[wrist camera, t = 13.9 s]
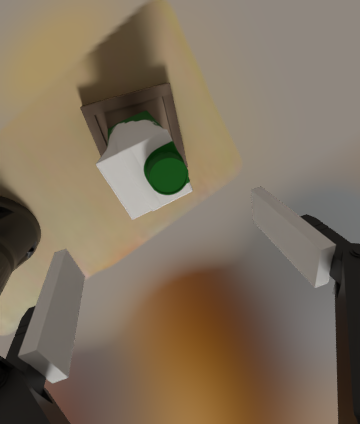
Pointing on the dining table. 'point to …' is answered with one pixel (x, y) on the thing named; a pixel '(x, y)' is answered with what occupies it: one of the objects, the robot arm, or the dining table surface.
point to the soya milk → (143, 165)
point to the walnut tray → (129, 106)
